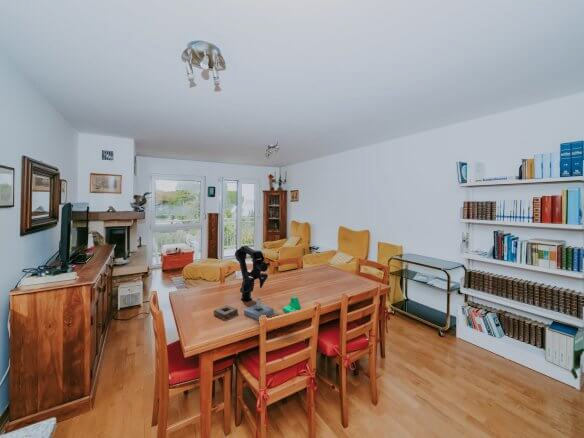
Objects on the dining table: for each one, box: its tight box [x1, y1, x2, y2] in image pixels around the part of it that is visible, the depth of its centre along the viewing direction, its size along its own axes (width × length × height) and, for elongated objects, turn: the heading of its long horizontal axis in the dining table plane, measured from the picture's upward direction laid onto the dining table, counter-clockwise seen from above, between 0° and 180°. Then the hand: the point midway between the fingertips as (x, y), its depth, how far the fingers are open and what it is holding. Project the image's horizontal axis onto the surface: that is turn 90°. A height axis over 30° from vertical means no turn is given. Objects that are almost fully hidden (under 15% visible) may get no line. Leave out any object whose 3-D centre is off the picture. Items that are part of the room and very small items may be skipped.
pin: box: [256, 297, 262, 311], centre depth 169 cm, size 3×3×10 cm
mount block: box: [213, 304, 239, 320], centre depth 167 cm, size 11×11×3 cm
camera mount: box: [282, 296, 302, 314], centre depth 172 cm, size 12×8×10 cm, turn 43°
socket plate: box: [243, 303, 274, 321], centre depth 169 cm, size 14×14×3 cm
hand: (256, 289), depth 180 cm, fingers open, 9 cm apart
